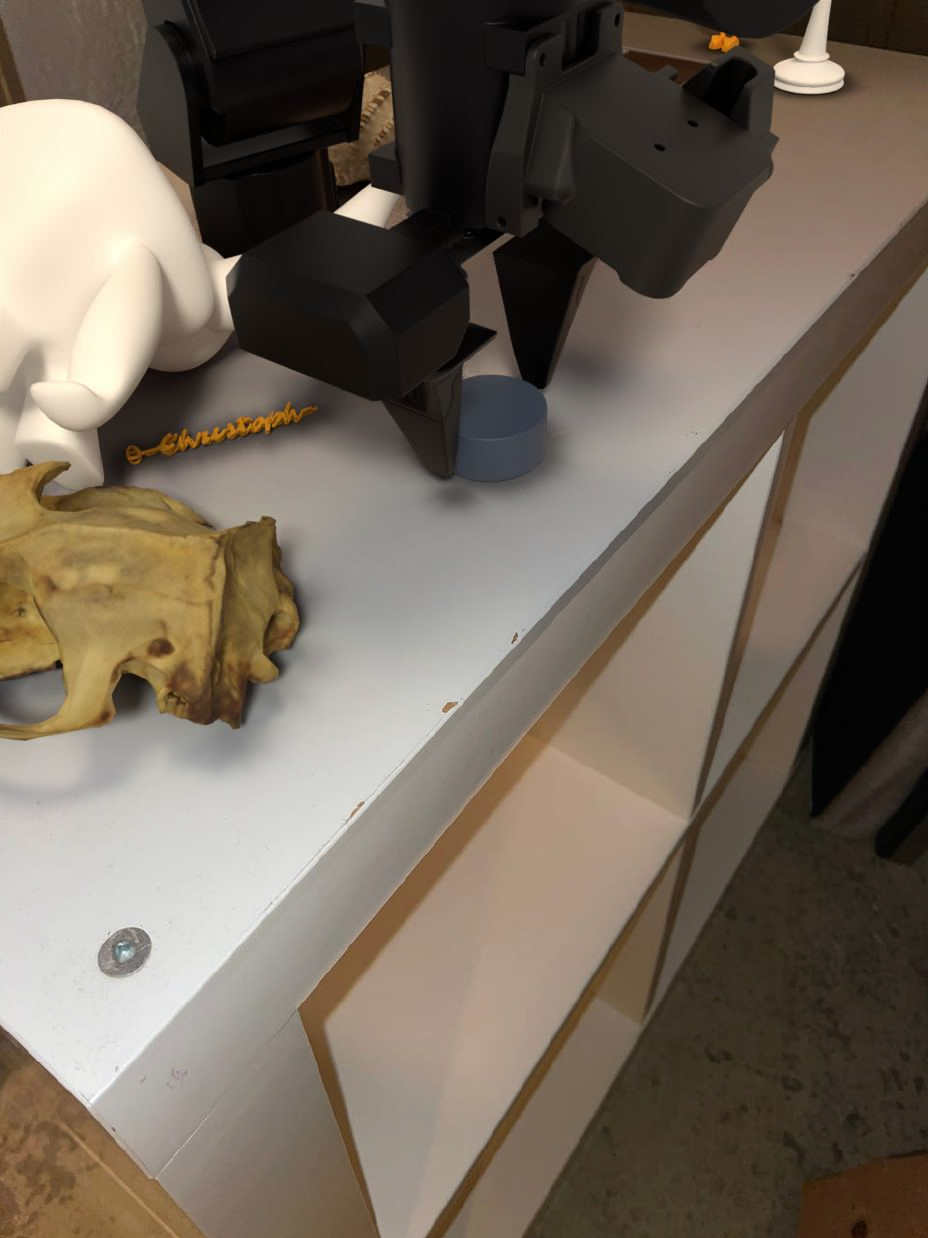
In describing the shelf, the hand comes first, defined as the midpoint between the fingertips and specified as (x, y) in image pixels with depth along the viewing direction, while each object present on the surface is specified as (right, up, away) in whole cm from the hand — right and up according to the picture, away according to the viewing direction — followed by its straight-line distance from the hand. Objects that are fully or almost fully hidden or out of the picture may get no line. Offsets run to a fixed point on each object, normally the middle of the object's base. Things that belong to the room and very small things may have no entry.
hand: (490, 426), depth 37 cm
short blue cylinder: (0, -1, +1) cm, 1 cm away
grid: (+7, +26, +26) cm, 38 cm away
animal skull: (-11, -9, -4) cm, 15 cm away
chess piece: (+22, +29, +28) cm, 46 cm away
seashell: (-8, +18, +19) cm, 28 cm away
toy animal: (-18, -2, -3) cm, 18 cm away
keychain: (-11, -1, +2) cm, 11 cm away
